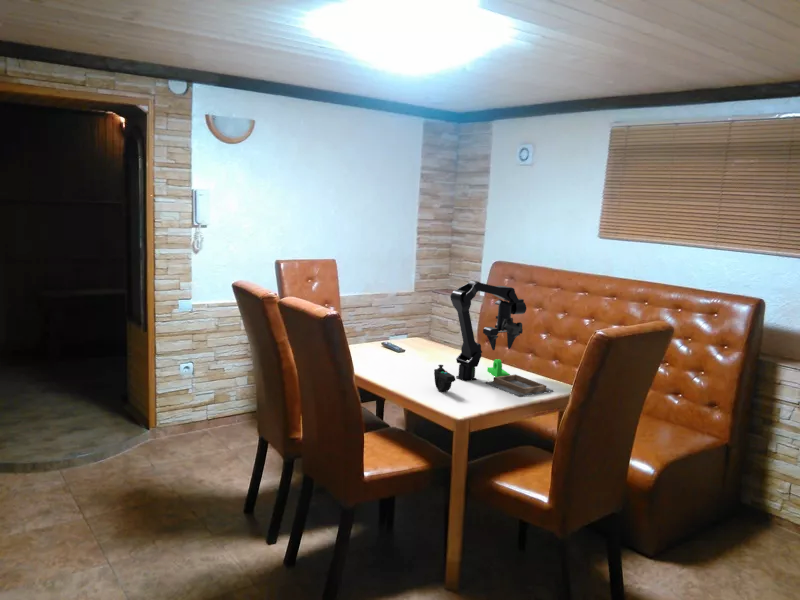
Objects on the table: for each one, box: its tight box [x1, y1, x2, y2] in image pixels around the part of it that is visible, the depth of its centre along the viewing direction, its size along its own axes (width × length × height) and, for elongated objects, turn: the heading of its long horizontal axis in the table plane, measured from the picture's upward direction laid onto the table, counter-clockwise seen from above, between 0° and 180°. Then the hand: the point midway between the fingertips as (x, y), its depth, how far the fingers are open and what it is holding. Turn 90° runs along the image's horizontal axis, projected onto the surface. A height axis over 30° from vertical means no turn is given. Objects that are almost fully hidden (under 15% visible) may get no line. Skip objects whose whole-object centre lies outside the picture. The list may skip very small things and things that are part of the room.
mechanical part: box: [486, 358, 511, 377], centre depth 275 cm, size 12×6×8 cm, turn 12°
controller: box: [433, 364, 456, 393], centre depth 244 cm, size 4×12×10 cm, turn 24°
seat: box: [485, 374, 554, 398], centre depth 257 cm, size 19×20×3 cm
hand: (501, 349), depth 274 cm, fingers open, 9 cm apart
